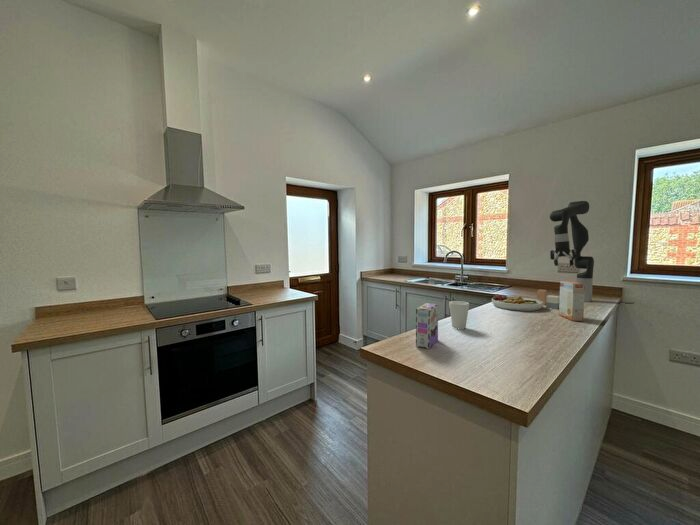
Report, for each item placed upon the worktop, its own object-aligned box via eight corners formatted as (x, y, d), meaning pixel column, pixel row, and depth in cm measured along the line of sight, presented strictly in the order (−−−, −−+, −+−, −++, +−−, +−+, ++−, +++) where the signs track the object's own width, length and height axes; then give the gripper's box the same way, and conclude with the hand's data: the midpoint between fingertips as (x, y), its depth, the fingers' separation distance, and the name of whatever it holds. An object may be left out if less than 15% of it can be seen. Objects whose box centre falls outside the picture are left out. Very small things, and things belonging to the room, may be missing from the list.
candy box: (429, 349, 117) (429, 309, 116) (415, 346, 120) (415, 308, 119) (438, 340, 128) (438, 303, 128) (425, 337, 132) (425, 302, 131)
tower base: (549, 306, 195) (549, 301, 195) (559, 308, 191) (559, 302, 191) (546, 308, 191) (546, 302, 191) (556, 309, 187) (557, 303, 187)
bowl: (546, 306, 196) (546, 295, 196) (537, 314, 174) (537, 301, 174) (498, 301, 217) (499, 291, 216) (485, 308, 195) (485, 296, 194)
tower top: (549, 301, 195) (549, 295, 195) (559, 302, 191) (559, 296, 190) (546, 302, 191) (546, 296, 191) (557, 303, 187) (557, 297, 187)
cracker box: (584, 321, 156) (585, 283, 155) (571, 321, 157) (572, 283, 156) (570, 315, 170) (571, 280, 169) (558, 315, 171) (559, 280, 170)
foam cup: (448, 329, 145) (448, 303, 144) (449, 324, 153) (449, 300, 152) (469, 331, 141) (469, 305, 140) (468, 326, 150) (468, 301, 149)
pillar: (539, 303, 207) (539, 289, 206) (546, 304, 203) (546, 290, 203) (537, 304, 204) (537, 290, 203) (544, 305, 201) (544, 290, 200)
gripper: (577, 239, 181) (579, 265, 182) (553, 241, 194) (555, 265, 195) (571, 240, 178) (573, 266, 179) (546, 242, 191) (548, 266, 191)
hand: (563, 265), depth 187 cm, fingers open, 8 cm apart
